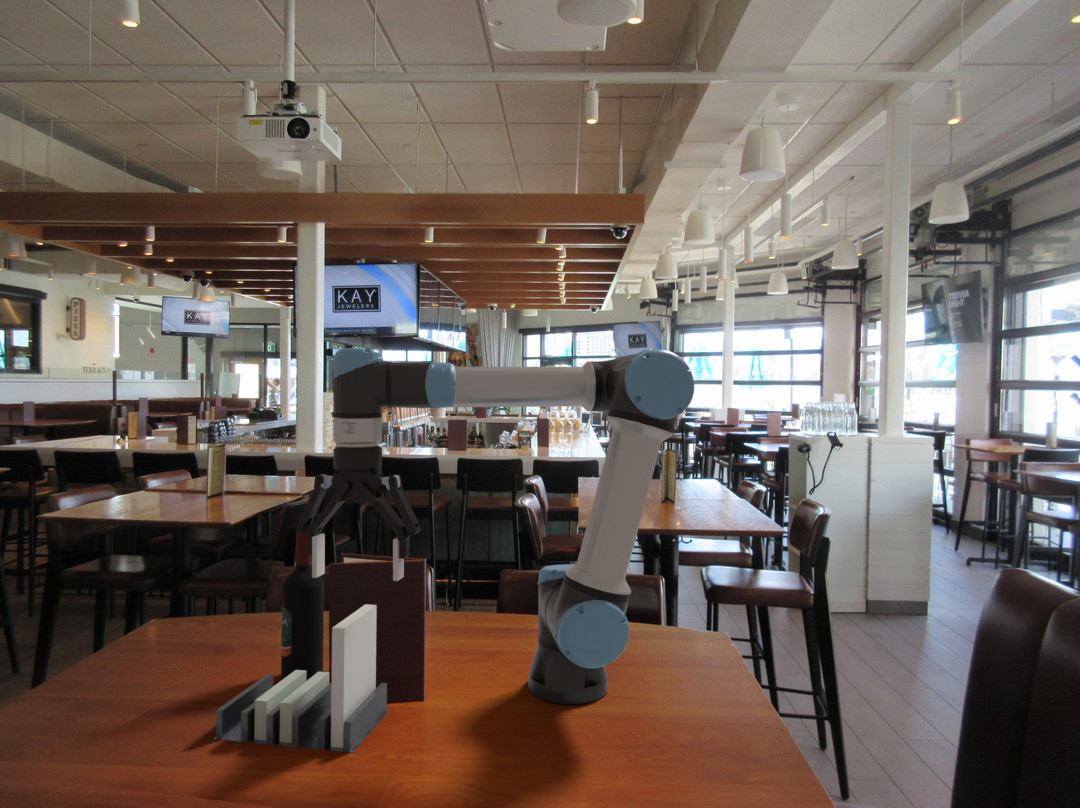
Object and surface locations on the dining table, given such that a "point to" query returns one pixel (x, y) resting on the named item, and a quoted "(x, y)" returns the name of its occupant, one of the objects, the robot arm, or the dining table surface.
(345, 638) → the tall sheet
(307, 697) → the offcut
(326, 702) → the rack
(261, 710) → the offcut
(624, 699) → the dining table surface
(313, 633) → the wine bottle
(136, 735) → the dining table surface
